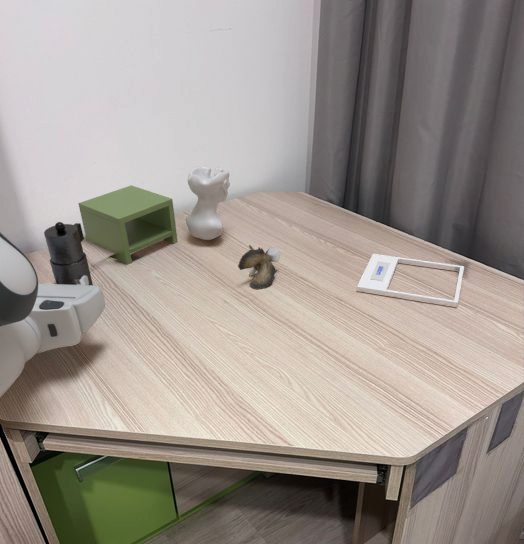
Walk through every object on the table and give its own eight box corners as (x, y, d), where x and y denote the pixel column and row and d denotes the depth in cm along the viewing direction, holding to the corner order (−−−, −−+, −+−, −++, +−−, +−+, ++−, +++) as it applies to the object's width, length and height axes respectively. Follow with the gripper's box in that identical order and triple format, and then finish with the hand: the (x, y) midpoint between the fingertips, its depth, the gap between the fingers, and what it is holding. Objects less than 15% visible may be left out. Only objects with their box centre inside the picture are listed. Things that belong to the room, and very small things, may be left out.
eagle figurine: (238, 260, 109) (228, 273, 101) (257, 232, 106) (249, 243, 98) (269, 282, 110) (262, 296, 102) (288, 254, 107) (283, 267, 99)
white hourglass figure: (180, 240, 121) (172, 173, 112) (212, 223, 128) (207, 159, 119) (212, 250, 116) (206, 181, 107) (244, 232, 123) (241, 167, 115)
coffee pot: (90, 316, 96) (69, 230, 86) (58, 315, 96) (33, 229, 86) (108, 290, 103) (90, 207, 94) (78, 289, 104) (57, 207, 94)
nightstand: (88, 246, 119) (78, 203, 113) (138, 226, 128) (131, 185, 122) (127, 264, 112) (118, 219, 106) (177, 242, 120) (172, 198, 114)
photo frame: (373, 252, 111) (464, 265, 105) (372, 257, 112) (463, 270, 106) (357, 285, 100) (458, 301, 94) (356, 290, 101) (456, 307, 95)
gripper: (-43, 339, 80) (2, 292, 92) (88, 345, 79) (118, 297, 90) (-59, 302, 77) (-10, 259, 88) (79, 308, 75) (111, 262, 86)
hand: (56, 278), depth 89 cm, fingers open, 8 cm apart
